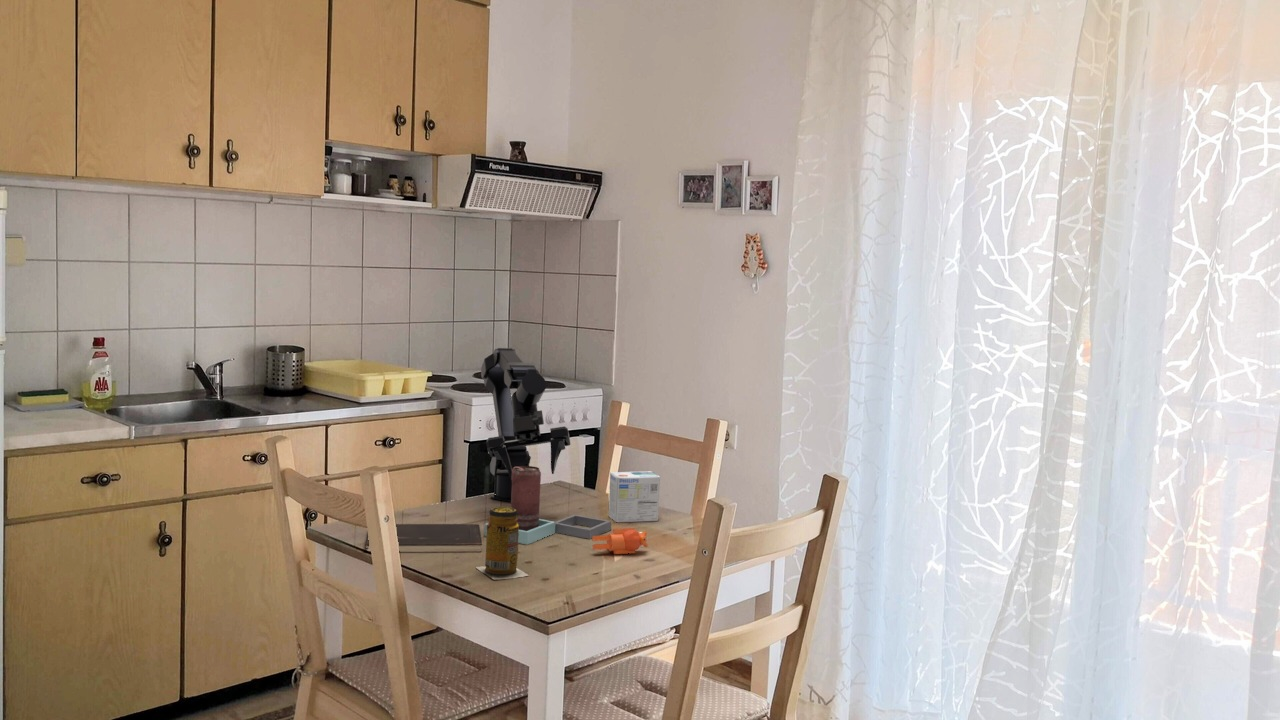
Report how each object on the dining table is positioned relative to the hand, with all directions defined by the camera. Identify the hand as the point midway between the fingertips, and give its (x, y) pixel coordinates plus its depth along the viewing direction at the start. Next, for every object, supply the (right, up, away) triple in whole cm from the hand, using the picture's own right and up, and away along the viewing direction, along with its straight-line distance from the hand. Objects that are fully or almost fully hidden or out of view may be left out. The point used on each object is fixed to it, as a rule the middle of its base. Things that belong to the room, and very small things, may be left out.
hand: (532, 476), depth 231 cm
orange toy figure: (+20, -14, -19) cm, 31 cm away
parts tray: (-2, -11, -10) cm, 15 cm away
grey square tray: (+11, -12, -4) cm, 17 cm away
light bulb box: (+23, -11, +9) cm, 27 cm away
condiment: (-2, -14, -37) cm, 39 cm away
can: (-1, -11, -9) cm, 14 cm away
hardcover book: (-21, -12, -19) cm, 30 cm away
